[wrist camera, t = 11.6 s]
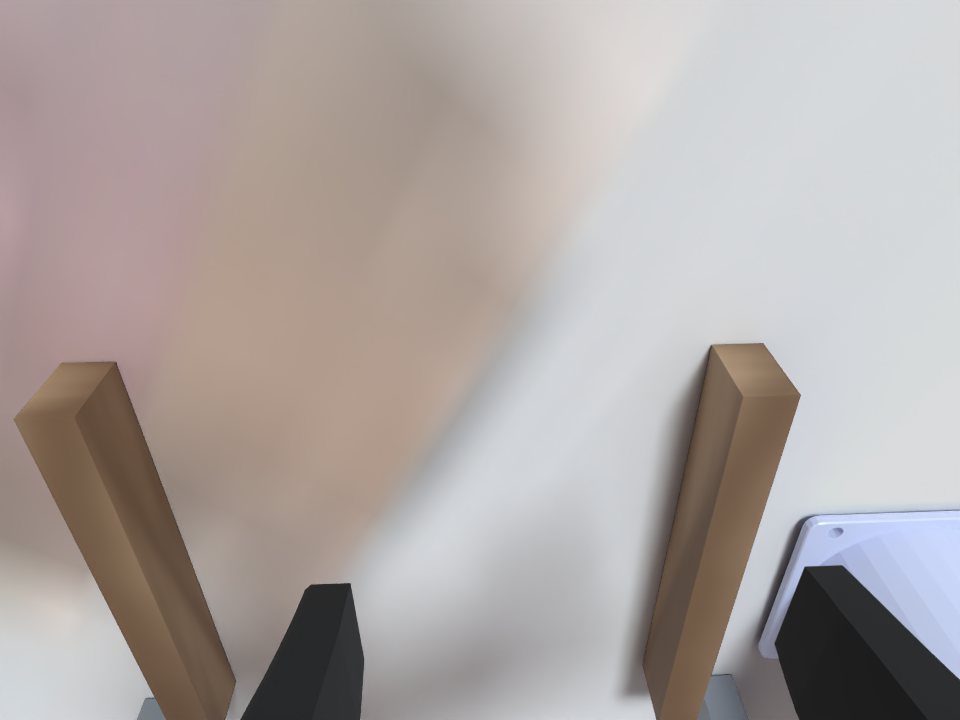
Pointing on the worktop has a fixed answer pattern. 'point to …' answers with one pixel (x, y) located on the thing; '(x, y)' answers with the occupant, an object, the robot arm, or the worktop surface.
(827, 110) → the worktop surface
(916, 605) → the robot arm
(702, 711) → the gray u-shaped frame
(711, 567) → the brown rectangular beams
